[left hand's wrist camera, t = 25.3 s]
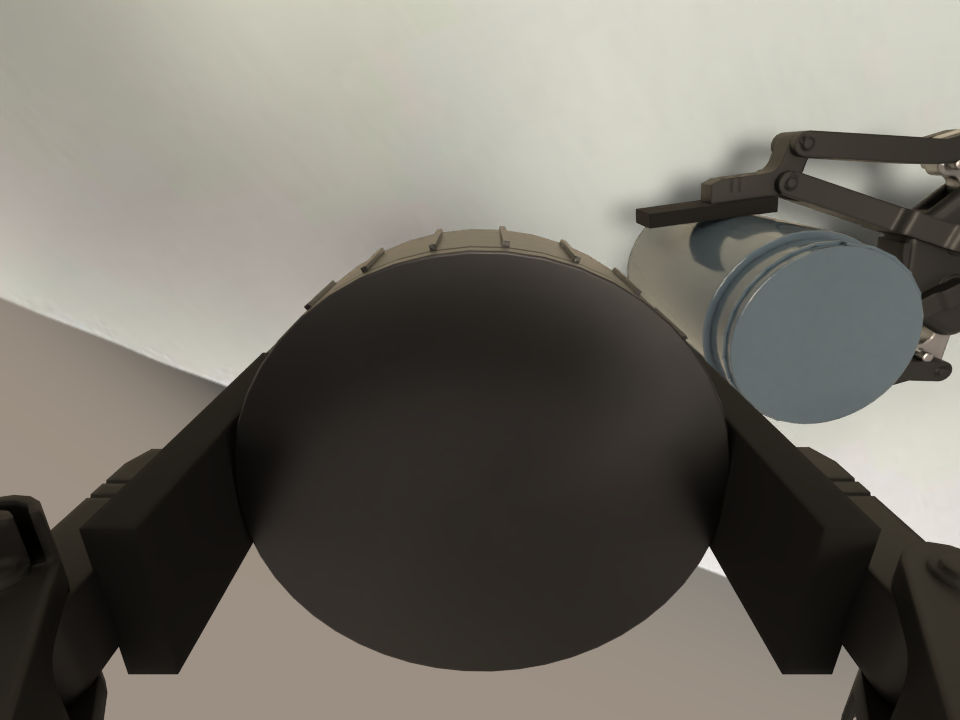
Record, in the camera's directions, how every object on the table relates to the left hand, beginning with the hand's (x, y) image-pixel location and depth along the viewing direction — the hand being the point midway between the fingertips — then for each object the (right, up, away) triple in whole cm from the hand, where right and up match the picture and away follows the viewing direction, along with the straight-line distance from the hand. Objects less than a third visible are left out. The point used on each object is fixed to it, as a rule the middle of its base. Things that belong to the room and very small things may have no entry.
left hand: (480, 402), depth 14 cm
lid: (0, -1, -3) cm, 3 cm away
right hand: (+9, +5, +17) cm, 20 cm away
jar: (+14, +7, +23) cm, 28 cm away
